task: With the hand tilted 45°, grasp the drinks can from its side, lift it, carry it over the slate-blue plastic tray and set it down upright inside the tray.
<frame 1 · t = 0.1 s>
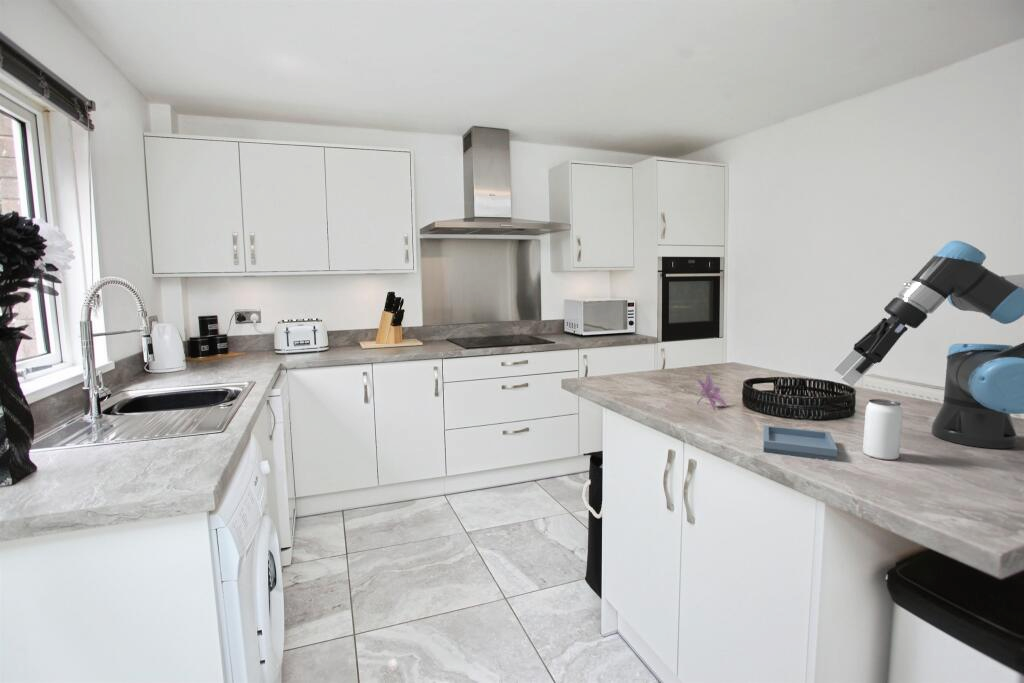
hand: (842, 377, 121), 15 cm above the table, tool tilted 35°, fingers open, 13 cm apart
tray: (797, 446, 117), on the table
can: (880, 456, 111), on the table
lily: (709, 407, 156), on the table
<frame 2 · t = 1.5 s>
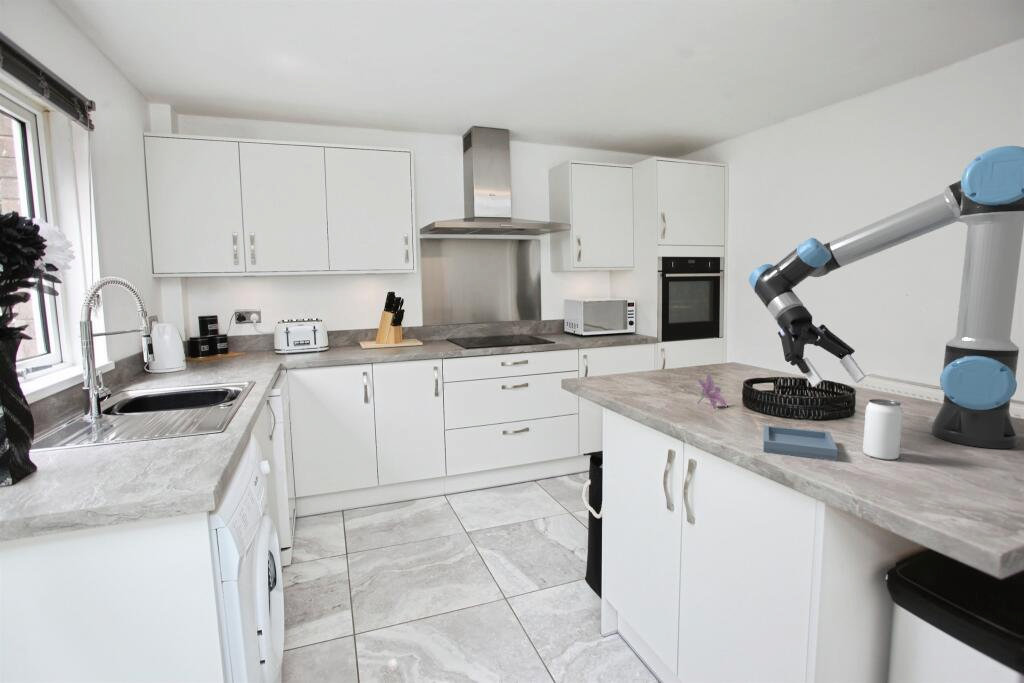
hand: (840, 381, 119), 15 cm above the table, tool tilted 45°, fingers open, 13 cm apart
nothing on the table moved.
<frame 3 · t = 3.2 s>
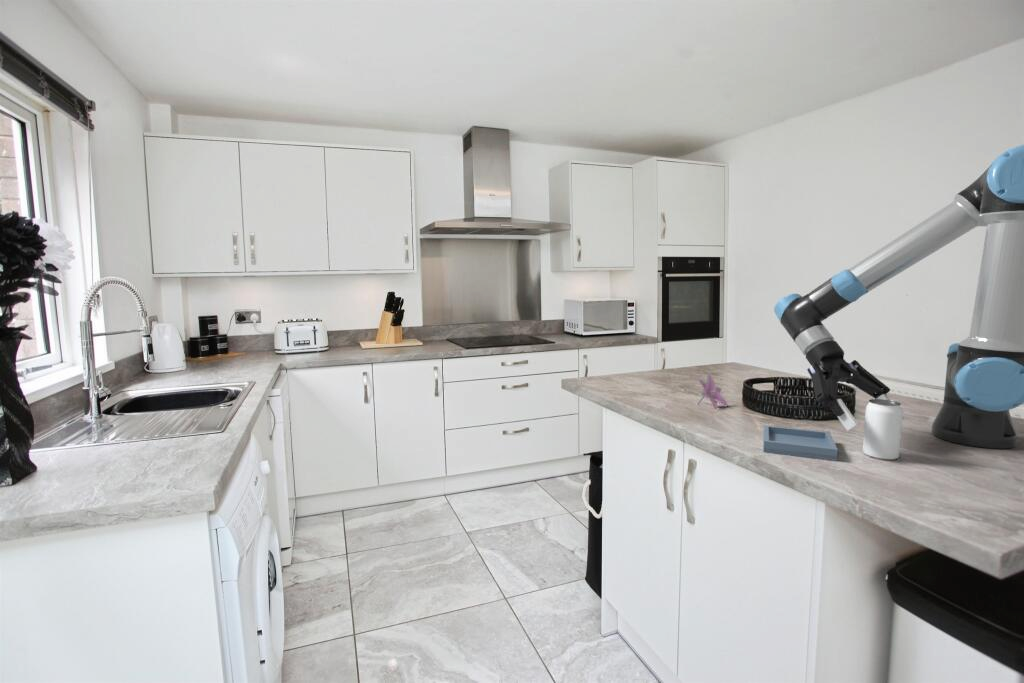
hand: (876, 424, 111), 7 cm above the table, tool tilted 45°, fingers open, 13 cm apart
nothing on the table moved.
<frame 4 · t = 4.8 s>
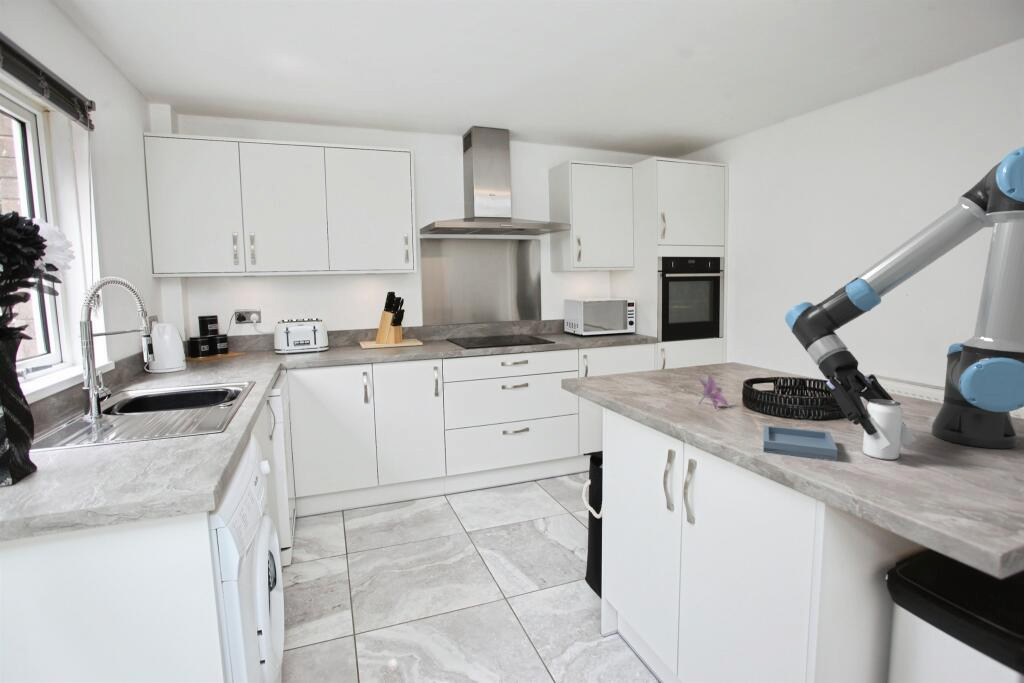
hand: (898, 445, 108), 3 cm above the table, tool tilted 45°, fingers closed on can, 6 cm apart
can: (880, 456, 111), on the table, touching gripper
everything else where it was.
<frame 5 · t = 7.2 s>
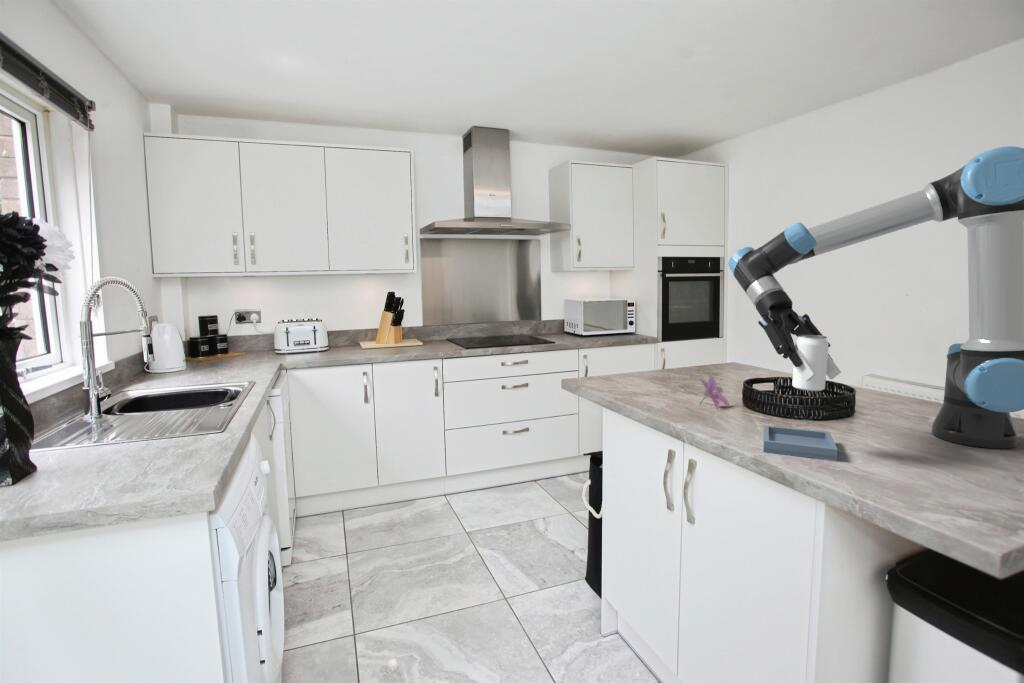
hand: (823, 376, 112), 17 cm above the table, tool tilted 45°, fingers closed on can, 6 cm apart
can: (808, 389, 115), point 14 cm above the table, touching gripper
everything else where it was.
when the fingers open (6 cm above the table, at t = 9.7 s): can drops 1 cm, resting on tray.
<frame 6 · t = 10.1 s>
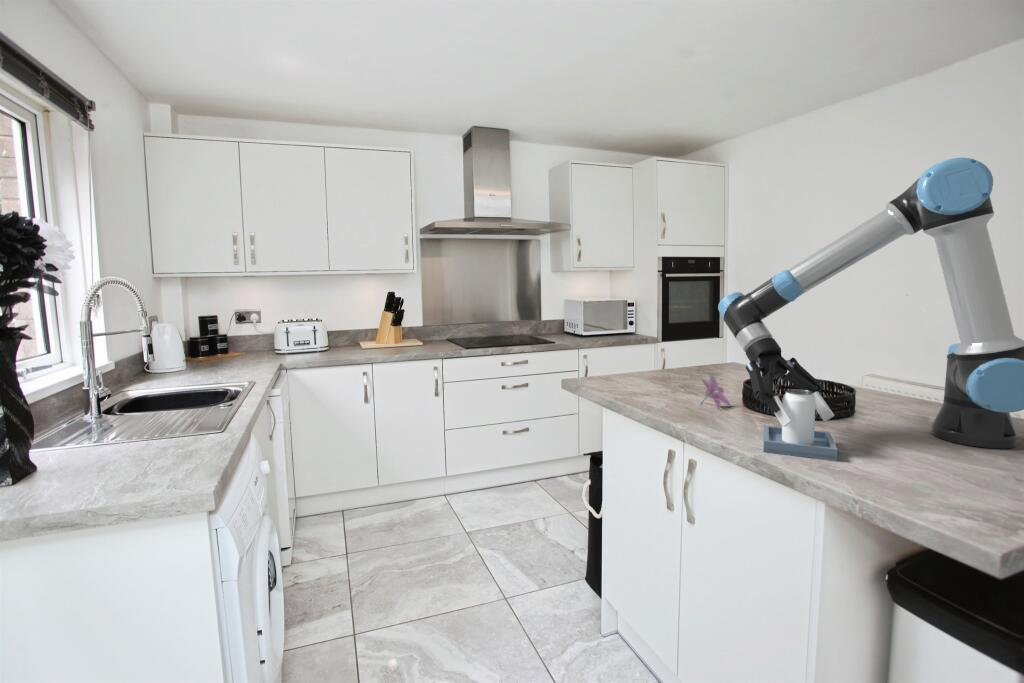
hand: (809, 421, 114), 7 cm above the table, tool tilted 45°, fingers open, 11 cm apart
can: (797, 443, 117), point 1 cm above the table, touching tray
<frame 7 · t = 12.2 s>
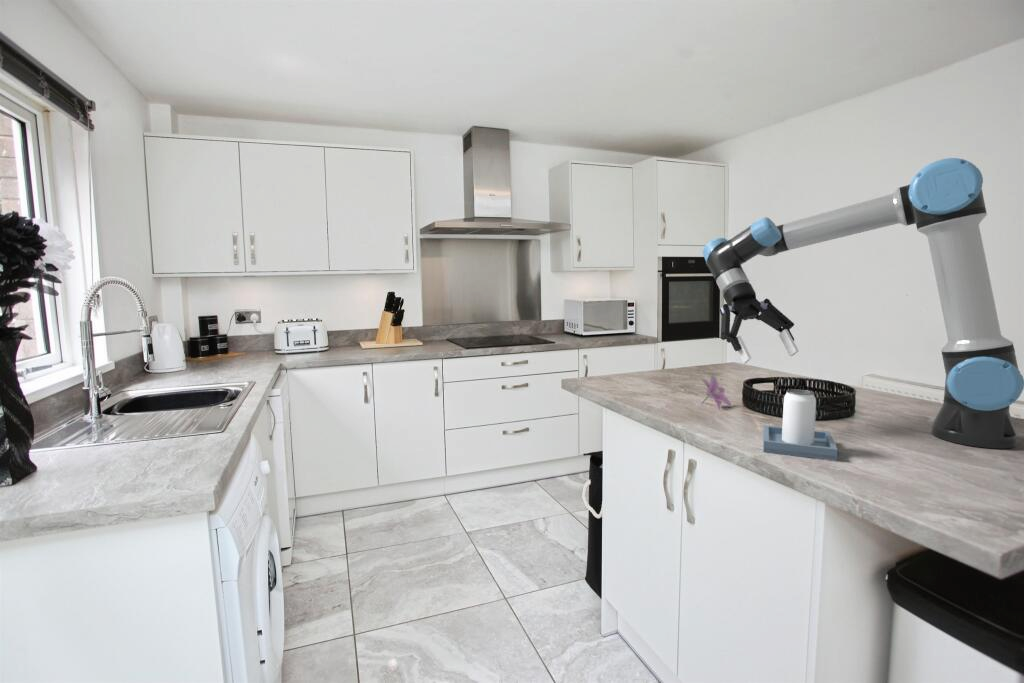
hand: (771, 357, 128), 19 cm above the table, tool tilted 35°, fingers open, 13 cm apart
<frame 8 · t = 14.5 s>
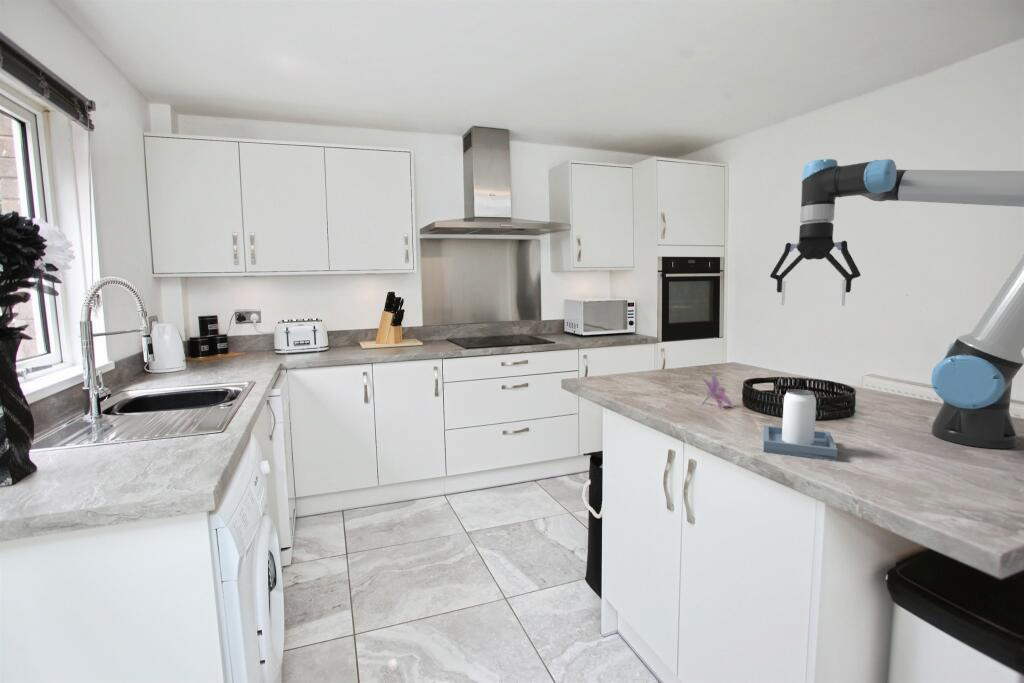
hand: (811, 305, 134), 32 cm above the table, tool pointing down, fingers open, 13 cm apart
at the end: can inside the target area on the tray (0.0 cm from its centre), point 0.8 cm above the tray's base; can tilted 0°; the gripper is holding nothing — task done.
